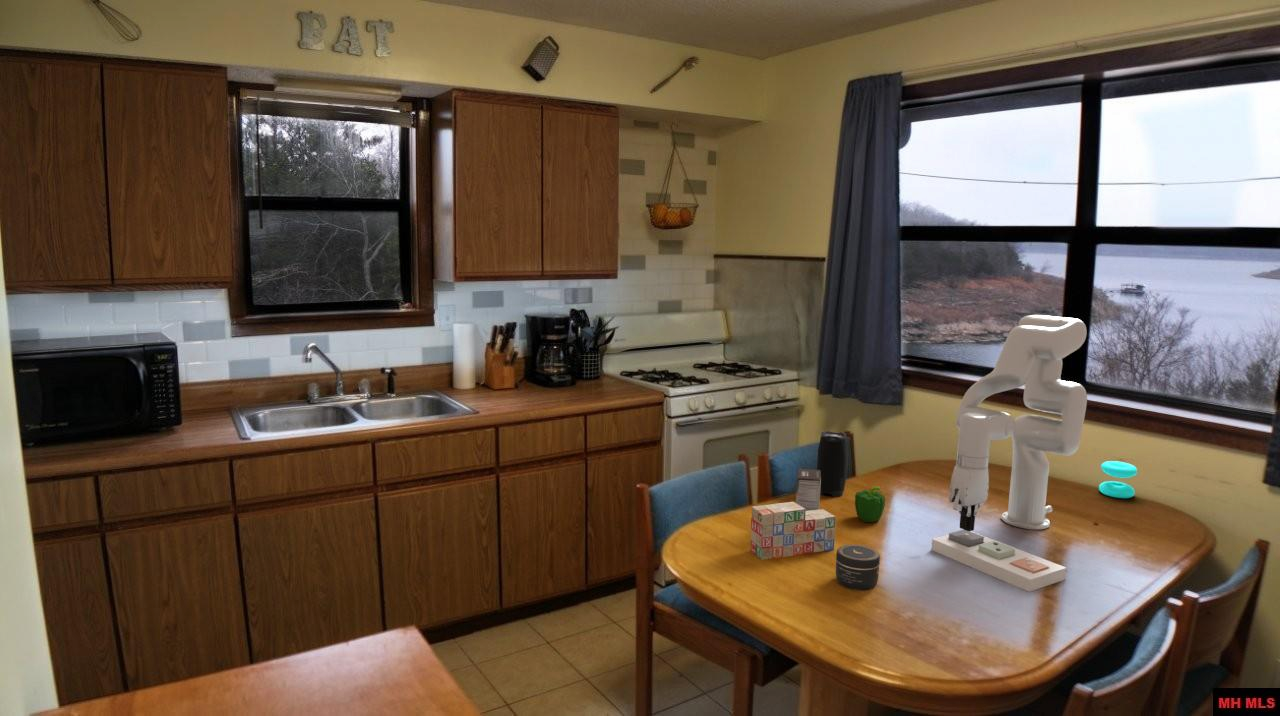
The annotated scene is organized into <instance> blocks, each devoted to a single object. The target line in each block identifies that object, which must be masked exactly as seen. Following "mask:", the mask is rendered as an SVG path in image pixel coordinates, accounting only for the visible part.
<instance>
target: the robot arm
mask: <svg viewBox="0 0 1280 716" xmlns="http://www.w3.org/2000/svg"><path fill="white" fill-rule="evenodd" d="M1087 331H1088V330H1087V326H1086V324H1085V323H1084V321H1082V320H1081V319H1079V318H1074V317H1065V316H1064V317H1063V316H1052V315H1045V314H1044V315H1043V314H1030V315H1025V316H1023V317H1021V318H1020V320H1019V322H1018V326H1015V327H1013V328H1011V330H1010V331H1009V333H1008V335H1007V337H1006V340H1005V342H1004V345H1003V346H1002V350H1001V351H1000V354H999V357H998V359H997V360H996V363H995V365H994V369H993V370H991V372H990V373H988V374H986V375H984V376H983V377H981V378H980V379H979V380H977V381H976V382H975V383H973V384H972V385H971V386H970V387H969V388H968V389H967V390H966V392H965V393H964V395H963V397H962V400H961V402H960V404H959V407H958V410H957V412H956V418H955V425H956V427H957V429H958V440H957V441H958V442H957V455H956V462H955V463H956V464H955V466H954V469H953V470H952V475H951V480H950V485H949V490H948V491H949V494H948V501H949V502H950V503H953V506H952V509H953V510H955V511H958V513H959V514H960V516H959V517H960V518H959V528H960V530H966V531H972V532H974V530H975V521H976V516H977V514H978V510H979V508H980V507H982V506H984V504H985V503H986V501H988V496H989V485H990V484H989V483H990V479H989V478H990V474H989V461H990V449H991V441H1004V440H1006V439H1009V438H1010V437H1011V440H1012V463H1011V474H1010V484H1009V486H1010V487H1009V494H1008V497H1009V498H1008V506H1007V507H1008V508H1007V509H1008V510H1007V511H1004V512H1003V513H1002V514H1001V520H1002V521H1003V522H1004V523H1006V524H1008V525H1010V526H1013V527H1016V528H1020V529H1025V530H1033V531H1034V530H1039V531H1040V530H1045V529H1048V528H1049V527H1050V526H1051V521H1050V520H1049V519H1048V518H1047V517H1046V515H1047V514H1048V513H1052V512H1053V507H1052V505H1046V503H1047V492H1048V483H1049V474H1050V464H1049V460H1048V458H1047V456H1046V454H1045V452H1047V453H1050V454H1055V455H1060V456H1061V455H1062V456H1073V455H1074V454H1075V453H1076V452H1078V449H1079V447H1080V442H1081V439H1082V432H1083V427H1084V422H1085V417H1086V411H1087V404H1088V395H1087V391H1086V389H1085V387H1084V386H1083V385H1082V384H1081V383H1077V382H1074V381H1070V380H1069V381H1068V380H1067V381H1066V380H1062V379H1061V378H1062V377H1061V375H1062V370H1063V359H1065V358H1066V357H1067V356H1070V354H1072V353H1074V352H1075V351H1077V350H1079V349H1080V348H1081V347H1082V345H1083V344H1084V343H1085V341H1086V340H1087V339H1086V338H1087V335H1088V333H1087ZM1023 386H1024V389H1023V403H1024V404H1023V405H1025V407H1027V408H1028V409H1031V410H1034V411H1038V412H1043V413H1048V414H1055V415H1059V416H1061V419H1059V418H1058V419H1057V418H1053V417H1048V416H1043V415H1036V414H1030V413H1029V414H1021V415H1019V416H1017V417H1016V418H1014V417H1013V416H1012V415H1011V414H1010V413H1008V412H1005V411H1001V410H996V409H992V408H991V409H990V408H986V407H980V405H981V403H982V402H983V401H984V400H985V399H986V398H988V397H990V396H993V395H994V394H999V393H1002V392H1006V391H1010V390H1014V389H1019V388H1021V387H1023Z"/></svg>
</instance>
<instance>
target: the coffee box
mask: <svg viewBox="0 0 1280 716" xmlns="http://www.w3.org/2000/svg"><path fill="white" fill-rule="evenodd" d="M796 475H797V477H796V478H797V479H796V494H795V497H796V498H795V503H796V504H798V505H800V506H801V507H803V508H805V509H806V511H810V510H819V509H820V502H821V499H820V498H821V494H820V486H821V471H820V470H817V469H808V468H807V469H806V468H805V469H804V468H797V474H796Z"/></svg>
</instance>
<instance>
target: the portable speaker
mask: <svg viewBox="0 0 1280 716" xmlns="http://www.w3.org/2000/svg"><path fill="white" fill-rule="evenodd" d="M820 435H821V436H820V439H819V444H818V449H817V460H816V461H817V463H816V470H820V471H821V486H820V496H821V495H824V494H828V495H830V496H832V498H833V497H834V498H837V497H841V496H843V494H844V492H845V488H846V487H845V486H846V481H847V474H848V464H849V462H848V461H849V449H848V441H847V433H845V432H841V431H839V432H835V431H834V432H833V431H830V430H824V431H822V432H821V434H820Z"/></svg>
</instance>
